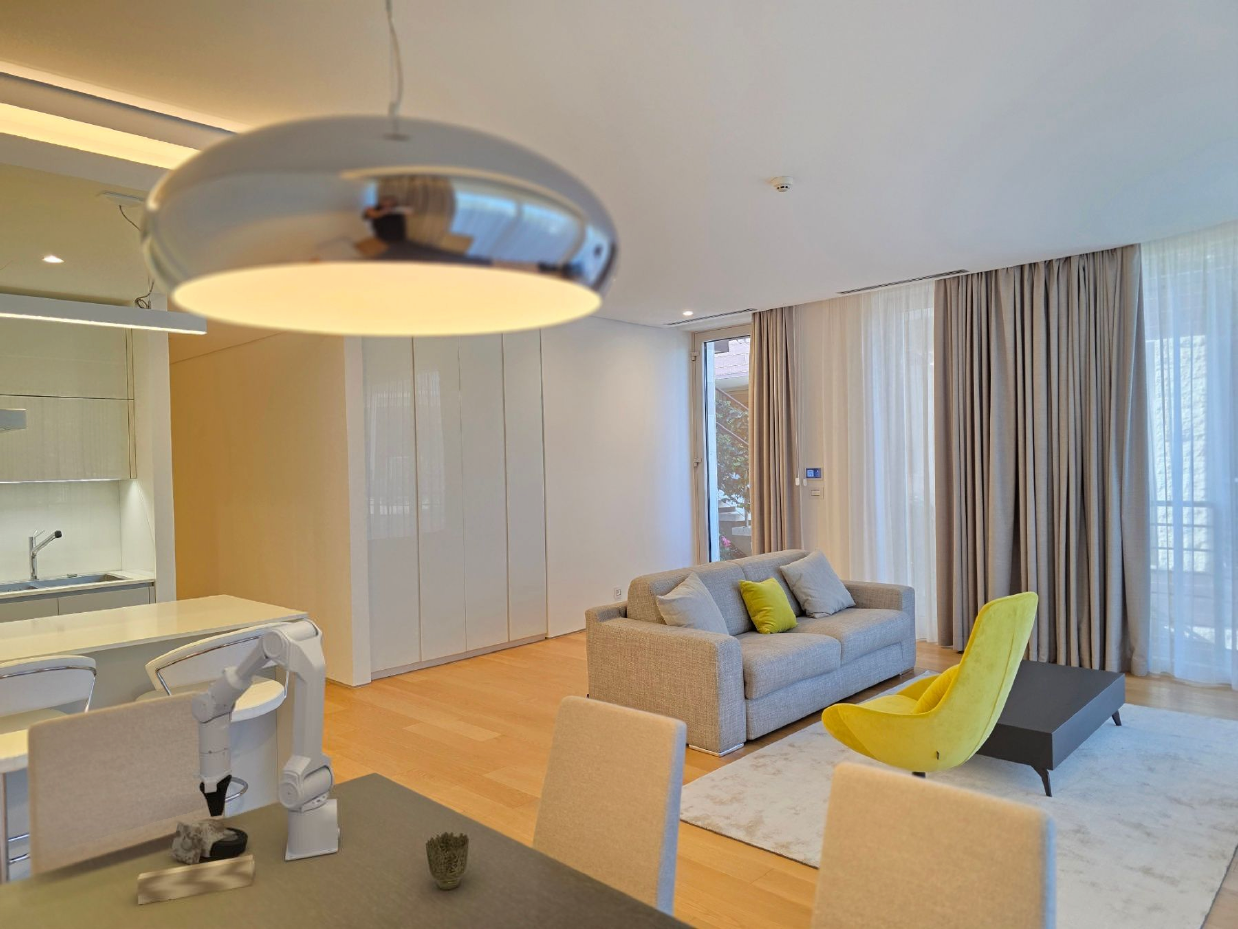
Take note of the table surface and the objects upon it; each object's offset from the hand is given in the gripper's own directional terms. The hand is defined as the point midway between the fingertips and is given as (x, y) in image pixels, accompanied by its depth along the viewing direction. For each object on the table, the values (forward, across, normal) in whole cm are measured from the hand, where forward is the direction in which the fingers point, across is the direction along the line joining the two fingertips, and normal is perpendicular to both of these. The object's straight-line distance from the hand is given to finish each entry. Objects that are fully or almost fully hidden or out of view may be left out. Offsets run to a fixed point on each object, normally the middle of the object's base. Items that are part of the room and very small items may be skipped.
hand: (216, 815), depth 168 cm
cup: (+4, +40, +42) cm, 58 cm away
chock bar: (+4, +24, 0) cm, 24 cm away
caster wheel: (+4, +10, +1) cm, 11 cm away
